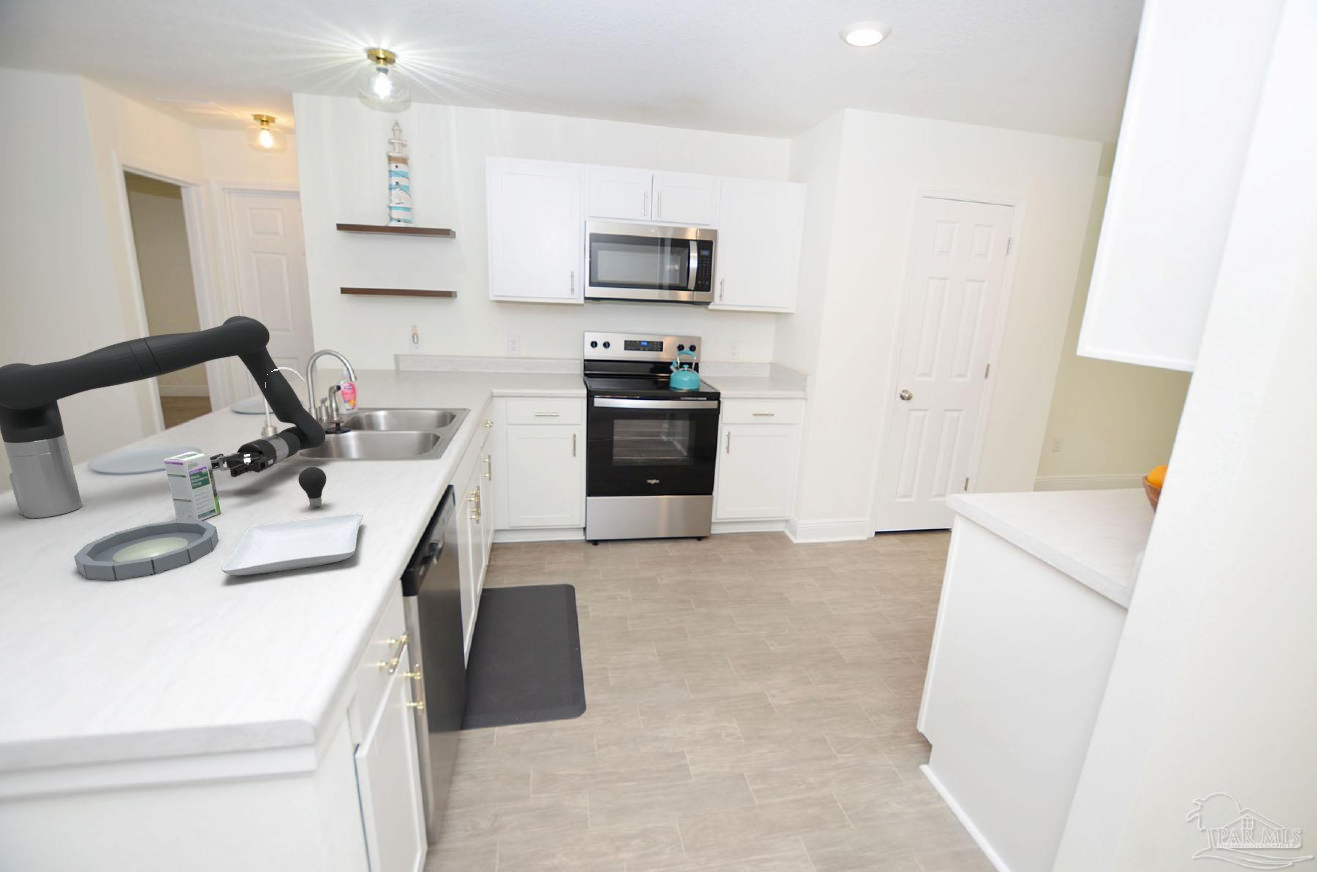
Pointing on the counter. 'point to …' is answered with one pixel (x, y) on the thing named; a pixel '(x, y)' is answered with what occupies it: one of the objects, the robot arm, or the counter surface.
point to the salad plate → (294, 544)
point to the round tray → (146, 549)
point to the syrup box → (192, 486)
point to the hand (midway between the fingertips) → (214, 472)
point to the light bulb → (313, 484)
